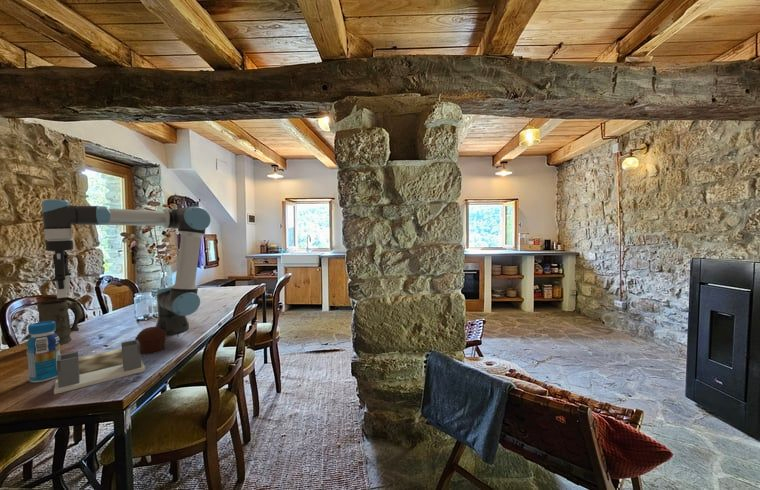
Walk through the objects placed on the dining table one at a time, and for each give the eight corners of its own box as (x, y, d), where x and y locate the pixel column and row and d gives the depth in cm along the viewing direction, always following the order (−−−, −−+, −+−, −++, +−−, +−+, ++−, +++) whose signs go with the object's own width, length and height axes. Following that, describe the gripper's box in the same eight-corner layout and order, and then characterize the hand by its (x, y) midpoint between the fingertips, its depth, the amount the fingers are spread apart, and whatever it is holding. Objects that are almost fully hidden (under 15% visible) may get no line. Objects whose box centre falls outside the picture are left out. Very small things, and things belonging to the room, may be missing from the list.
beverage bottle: (21, 383, 111) (16, 327, 110) (46, 372, 119) (42, 320, 118) (45, 383, 111) (41, 326, 110) (69, 372, 119) (65, 319, 118)
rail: (128, 359, 131) (127, 347, 131) (129, 362, 128) (128, 350, 128) (71, 372, 119) (70, 359, 119) (70, 376, 117) (69, 362, 116)
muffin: (132, 351, 139) (131, 329, 138) (161, 343, 148) (160, 322, 147) (141, 357, 132) (140, 334, 131) (171, 349, 141) (170, 327, 140)
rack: (142, 362, 127) (140, 337, 126) (145, 370, 119) (143, 344, 119) (56, 383, 111) (54, 355, 110) (54, 394, 103) (51, 363, 103)
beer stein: (48, 348, 144) (48, 304, 144) (30, 347, 146) (30, 303, 146) (86, 339, 159) (86, 298, 159) (69, 337, 161) (69, 298, 161)
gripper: (49, 239, 129) (54, 291, 131) (40, 241, 110) (45, 301, 112) (74, 239, 134) (79, 288, 136) (70, 240, 115) (75, 298, 117)
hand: (64, 294), depth 124 cm, fingers open, 13 cm apart
